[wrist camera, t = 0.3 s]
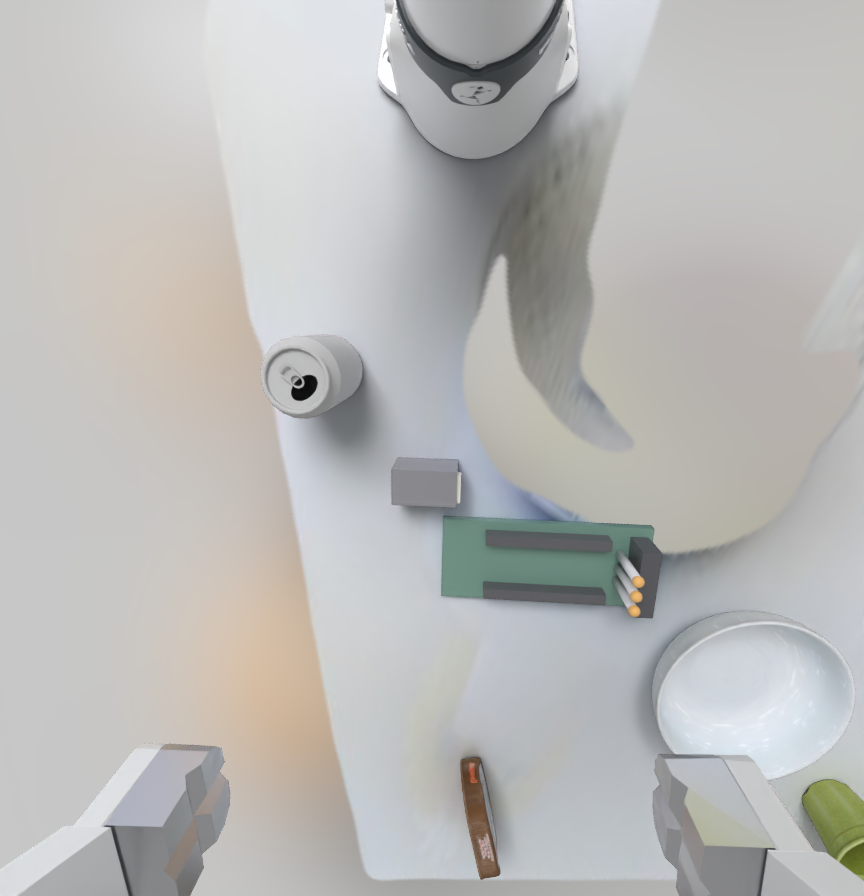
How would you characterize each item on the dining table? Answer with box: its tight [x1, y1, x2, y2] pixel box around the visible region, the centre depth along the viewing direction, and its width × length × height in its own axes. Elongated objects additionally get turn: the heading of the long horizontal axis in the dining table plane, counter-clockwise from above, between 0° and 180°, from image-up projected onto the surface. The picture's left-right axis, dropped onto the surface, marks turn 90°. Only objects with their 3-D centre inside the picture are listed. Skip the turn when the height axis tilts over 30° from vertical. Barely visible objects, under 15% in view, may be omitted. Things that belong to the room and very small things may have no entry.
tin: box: [460, 758, 500, 880], centre depth 63 cm, size 15×3×8 cm, turn 11°
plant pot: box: [802, 780, 864, 881], centre depth 59 cm, size 9×9×9 cm
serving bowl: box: [652, 611, 855, 781], centre depth 56 cm, size 21×21×7 cm
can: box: [261, 335, 363, 419], centre depth 48 cm, size 8×8×12 cm
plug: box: [392, 457, 461, 508], centre depth 54 cm, size 4×7×5 cm, turn 89°
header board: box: [441, 516, 662, 618], centre depth 54 cm, size 10×24×8 cm, turn 89°
